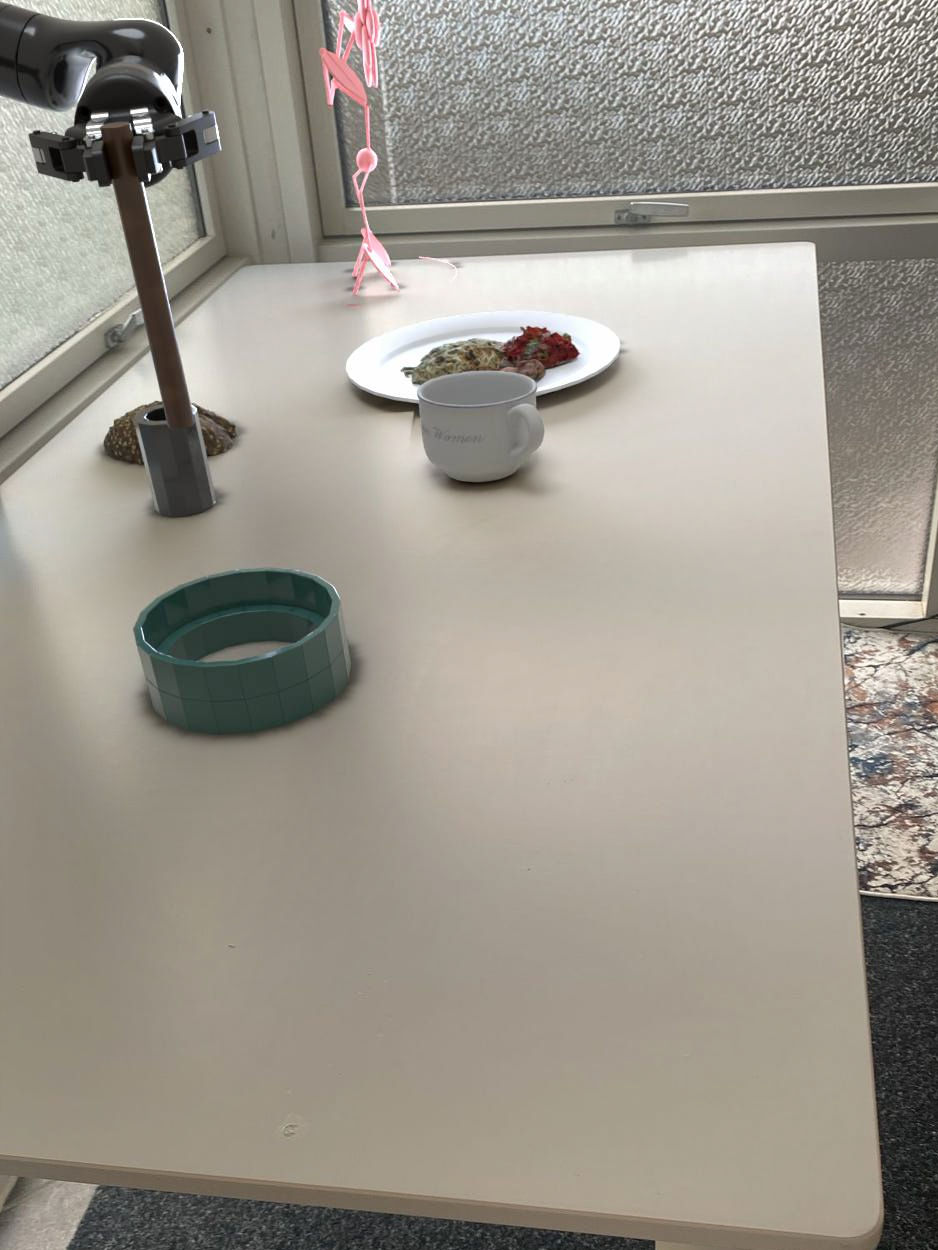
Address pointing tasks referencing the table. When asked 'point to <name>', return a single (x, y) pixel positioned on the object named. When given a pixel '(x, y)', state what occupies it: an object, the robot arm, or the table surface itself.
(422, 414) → the teacup
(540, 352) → the plated food
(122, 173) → the stick
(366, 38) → the figurine
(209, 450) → the bread roll
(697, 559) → the table surface
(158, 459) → the holder
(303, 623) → the ring
